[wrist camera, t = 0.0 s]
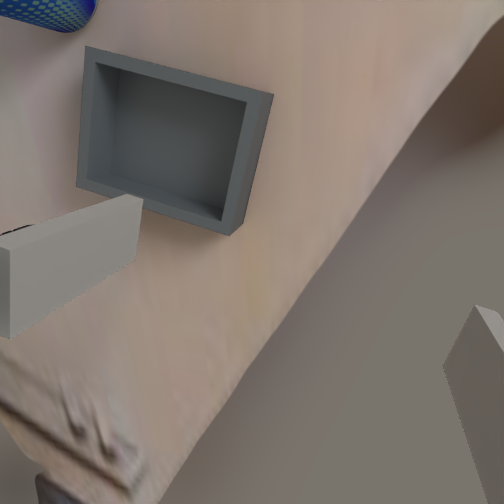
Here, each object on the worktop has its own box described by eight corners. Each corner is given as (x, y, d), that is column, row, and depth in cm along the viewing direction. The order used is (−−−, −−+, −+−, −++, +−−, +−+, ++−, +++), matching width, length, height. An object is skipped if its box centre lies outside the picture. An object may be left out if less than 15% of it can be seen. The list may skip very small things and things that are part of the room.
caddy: (114, 53, 42) (85, 45, 38) (274, 94, 40) (262, 91, 35) (103, 179, 48) (76, 186, 43) (242, 223, 45) (229, 236, 40)
